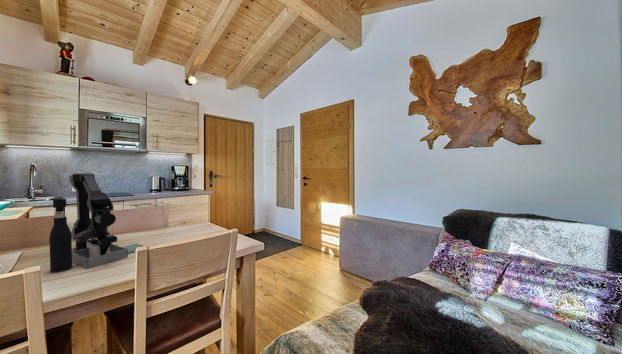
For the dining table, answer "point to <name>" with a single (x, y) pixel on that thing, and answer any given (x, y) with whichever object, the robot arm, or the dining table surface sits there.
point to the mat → (132, 247)
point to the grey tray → (80, 256)
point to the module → (95, 251)
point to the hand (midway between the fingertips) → (100, 255)
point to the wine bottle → (60, 240)
